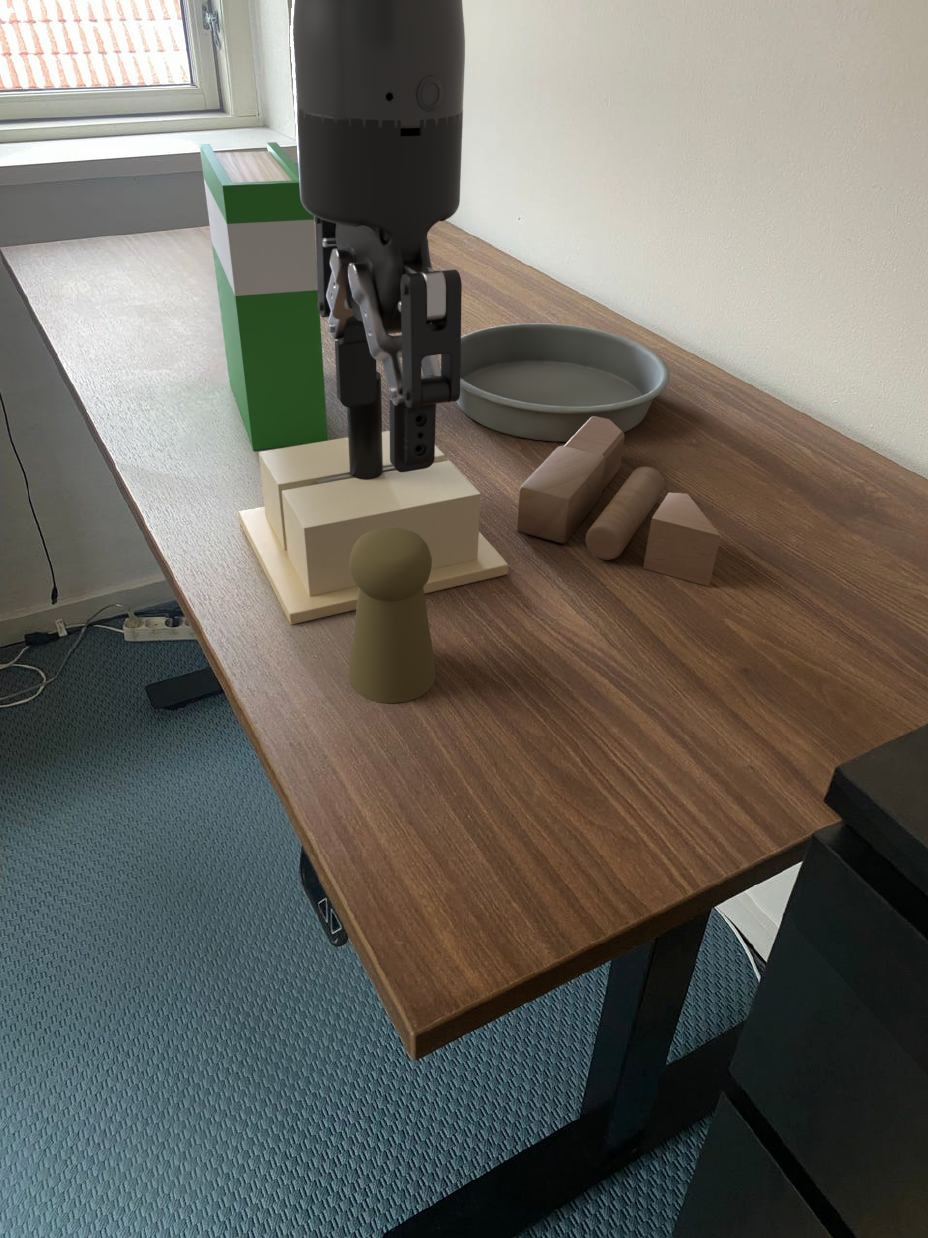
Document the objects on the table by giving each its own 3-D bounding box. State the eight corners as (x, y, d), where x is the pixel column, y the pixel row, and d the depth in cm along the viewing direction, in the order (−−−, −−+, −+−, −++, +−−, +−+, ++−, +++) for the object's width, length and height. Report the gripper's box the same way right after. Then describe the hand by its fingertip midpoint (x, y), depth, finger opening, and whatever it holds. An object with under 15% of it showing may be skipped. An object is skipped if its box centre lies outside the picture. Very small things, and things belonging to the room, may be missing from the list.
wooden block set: (514, 479, 76) (590, 401, 89) (510, 538, 79) (583, 455, 92) (719, 532, 70) (767, 440, 83) (705, 593, 73) (754, 496, 86)
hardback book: (229, 381, 104) (199, 144, 89) (295, 374, 106) (276, 142, 91) (253, 450, 90) (222, 185, 76) (327, 441, 92) (311, 181, 78)
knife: (326, 554, 74) (316, 389, 66) (317, 538, 76) (305, 375, 68) (419, 535, 77) (420, 374, 69) (407, 520, 79) (407, 361, 71)
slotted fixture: (290, 625, 68) (282, 544, 64) (238, 521, 80) (229, 447, 76) (508, 574, 75) (513, 498, 70) (430, 484, 86) (431, 414, 82)
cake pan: (606, 473, 89) (612, 430, 86) (396, 410, 99) (396, 370, 96) (696, 390, 106) (703, 352, 103) (509, 343, 116) (511, 307, 113)
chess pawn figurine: (336, 693, 62) (327, 557, 56) (365, 640, 67) (360, 508, 60) (422, 710, 61) (423, 573, 55) (445, 655, 66) (449, 522, 59)
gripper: (255, 78, 45) (281, 393, 55) (352, 128, 35) (362, 506, 44) (399, 76, 48) (399, 377, 57) (528, 123, 37) (501, 480, 47)
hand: (383, 433), depth 51 cm, fingers open, 8 cm apart
